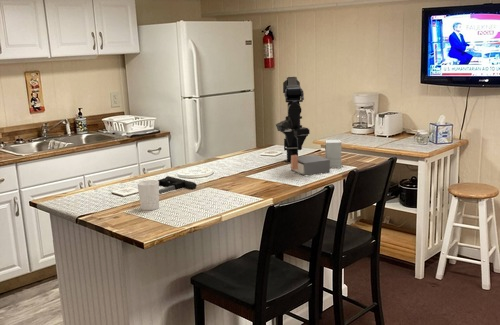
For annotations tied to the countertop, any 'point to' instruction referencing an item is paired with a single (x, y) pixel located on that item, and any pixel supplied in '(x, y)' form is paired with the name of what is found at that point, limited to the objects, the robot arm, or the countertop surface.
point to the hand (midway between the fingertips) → (294, 147)
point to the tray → (297, 164)
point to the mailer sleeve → (314, 164)
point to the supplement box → (333, 152)
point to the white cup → (149, 194)
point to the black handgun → (174, 184)
